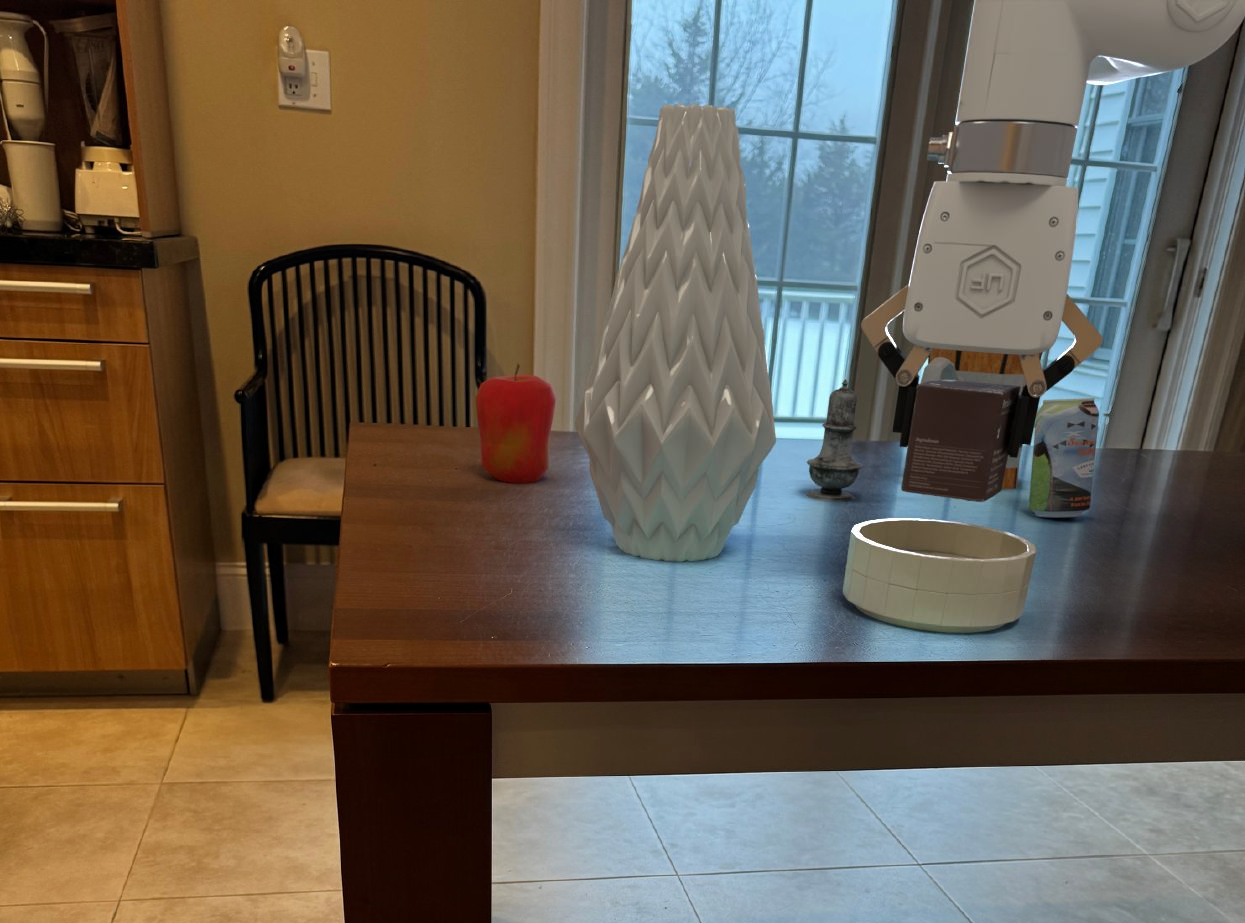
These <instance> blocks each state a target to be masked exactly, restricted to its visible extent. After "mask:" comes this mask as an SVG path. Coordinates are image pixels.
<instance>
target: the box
mask: <svg viewBox="0 0 1245 923" xmlns="http://www.w3.org/2000/svg"><path fill="white" fill-rule="evenodd" d="M1020 388H1021V387H1020V386H1013V385H1003V384H991V383H980V382H970V381H960V380H937V381H927V382H925V383H921V384H920V383H918V386H917V391H916V398H915V403H914V409H913V416H912V422H911V428H910V435H909V441H908V446H907V447H906V455H905V461H904V468H903V475H902V481H901V486H900V487H901V489H900V490H901V491H902V492H905V493H910V494H918V495H922V496H932V497H940V498H946V499H948V498H950V499H955V500H963V501H967V502H975V503H983V502H986V501H988V500H990V499H991V498H993V497H995V496H996V495H998V494H999V493H1001V491H1002V490H1003V489H1002V485H1003V480H1004V474H1005V469H1006V464H1007V459H1008V455H1007V448H1008V443H1009V438H1010V433H1011V428H1012V423H1013V418H1014V412H1015V407H1016V402H1017V397H1018V394H1019V393H1020Z"/></svg>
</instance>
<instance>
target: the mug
mask: <svg viewBox="0 0 1245 923" xmlns="http://www.w3.org/2000/svg"><path fill="white" fill-rule="evenodd" d="M1038 354H1039V358H1040V361H1041V360H1042V357H1043V354H1044V352H1042V353H1038ZM937 380H960V381H970V382H980V383H991V384H1003V385H1013V386H1020V387H1021V388H1020V393H1019V395H1021V392H1022V388H1023V385H1024V384H1025V383H1026V381H1025V378H1024V374H1023V370H1022V367H1021V363H1020V359H1019V356H1018V355H1015V354H1000V353H986V352H972V351H959V350H947V349H935V348H934V349H933V351H932V352H931V354H930V355H929V357H928V358H927V365H925V367H924V368H923V372H922V376H921V379H920V381H919V384H921V383H925V382H927V381H937ZM1023 445H1024V444H1020V447H1019V452H1018V457H1017V458H1013V457H1010V455H1008V459H1007V464H1006V469H1005V474H1004V480H1003V485H1002V490H1012V489H1016V488H1017V486H1018V483H1019V473H1020V472H1019V471H1020V461H1021V460H1020V459H1021V456H1022V450H1023Z"/></svg>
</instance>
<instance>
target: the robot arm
mask: <svg viewBox="0 0 1245 923" xmlns="http://www.w3.org/2000/svg"><path fill="white" fill-rule="evenodd" d="M1244 19H1245V0H974V1H973V7H972V13H971V19H970V20H971V21H970V26H969V33H968V38H967V46H966V52H965V58H964V65H963V72H962V78H961V85H960V89H959V90H960V92H959V97H958V104H957V110H956V117H955V124H954V125H953V131H949V132H948V134H942V135H941V137H936V136H930V138H929V142H928V147H927V157H926V161H932V162H933V161H934V162H935V161H938V162H937V163H938V164H943V167H944V168H947V169H946V172H947V174H946V180H940V181H939V180H937V181H934V182H933V185H932V188H931V191H930V193H929V196H928V199H927V202H926V206H925V209H924V213H923V216H922V220H921V224H920V229H919V232H918V233H919V234H918V236H917V242H916V247H915V251H914V257H913V261H912V266H911V272H910V277H909V282H908V284H906V285H905V286H904V287H903V288H902V289H900V290H899V291H898V292H897V293H895V294H894V295H892V296H891V297H890V298H889V299H887V300H886V301H885V302H883V303H882V304H880V306H879V307H877V308H876V309H875V310H873V311H872V312H871V313H869V314H868V315H867V316H866V317H864V318H863V320H862V321H861V323H860V329H861V331H862V332H863V334H864V335H865V337H866V338H867V340H868V342H869V343H870V345H871V346H872V348H873V349H874V350H875V352H876V354H877V356H878V358H879V359H880V360H881V362H882V363H883V365H884V366H885V368H886V369H887V370H888V372H889V373H890V374H891V375H892V377H893V378H894V380H895V382H896V384H897V385H898V391H897V397H896V404H895V410H894V417H893V424H892V433H897V434H900V439H899V448H908V441H909V435H910V428H911V422H912V416H913V409H914V403H915V398H916V391H917V386H918V384H920V375H919V373H920V372H921V370H922V368H923V366H924V364H925V363H926V362H927V361H928V357H929V355H930V354H931V352H932V351H933V349H934V348H935V349H947V350H959V351H972V352H986V353H1000V354H1015V355H1018V356H1019V359H1020V363H1021V367H1022V370H1023V374H1024V378H1025V381H1026V383H1025V384H1024V385H1023V388H1022V392H1021V395H1019V394H1018V397H1017V402H1016V407H1015V412H1014V418H1013V423H1012V428H1011V433H1010V438H1009V443H1008V448H1007V455H1010V457H1013V458H1017V457H1018V452H1019V447H1020V444H1023V445H1026V446H1027V445H1028V446H1030V445H1031V443H1032V439H1033V433H1034V430H1035V421H1036V414H1037V412H1038V410H1039V405H1040V399H1041V397H1043V396H1044V395H1045V394H1046V393H1047V392H1048V391H1049V390H1050V389H1052V388H1054V386H1055V385H1057V384H1058V383H1060V382H1061V381H1062V380H1063V379H1064V378H1066V377H1067V376H1069V374H1071V373H1072V372H1073V371H1074V370H1075V369H1076V368H1078V366H1080V365H1081V364H1082V363H1084V361H1085V360H1087V359H1088V358H1089V357H1090V356H1091V355H1092V354H1093V353H1095V352H1096V351H1097V350H1098V349H1100V347H1101V346H1103V342H1104V338H1103V335H1102V334H1101V333H1100V332H1099V331H1098V330H1097V328H1096V326H1095V325H1094V324H1093V323H1092V322H1091V321H1090V319H1089V318H1088V317H1087V316H1086V314H1085V313H1084V312H1083V311H1082V310H1081V309H1080V307H1079V306H1078V305H1077V303H1075V301H1074V300H1073V299H1072V297H1071V296H1070V295H1069V294H1068V290H1069V284H1070V283H1069V282H1070V276H1071V269H1072V263H1073V257H1074V250H1075V242H1076V233H1077V223H1078V210H1079V209H1078V208H1079V188H1078V187H1075V186H1068V185H1067V184H1068V180H1069V179H1068V178H1069V174H1070V168H1071V164H1072V159H1073V154H1074V148H1075V143H1076V138H1077V135H1078V134H1077V133H1078V127H1079V125H1080V124H1079V123H1080V118H1081V115H1082V109H1083V104H1084V100H1085V94H1086V88H1087V84H1090V85H1095V86H1096V85H1098V86H1107V85H1113V84H1117V83H1121V82H1125V81H1130V80H1134V79H1139V78H1142V77H1143V78H1144V77H1150V76H1151V77H1152V76H1157V75H1160V74H1164V73H1169V72H1173V71H1177V70H1181V69H1183V68H1187V67H1189V66H1192V65H1195V64H1196V63H1199V62H1200V61H1202V60H1204V59H1205V58H1207V57H1209V56H1210V55H1212V54H1213V53H1214V52H1216V51H1217V50H1219V49H1220V48H1221V47H1222V46H1223V45H1224V44H1225V43H1226V42H1227V41H1228V40H1230V38H1231V37H1232V36H1233V35H1234V34H1235V33H1236V32H1237V31H1238V28H1239V27H1240V26H1241V24H1242V23H1243V21H1244ZM902 313H903V322H902V332H903V336H904V338H905V339H906V340H907V341H908V342H909V343H911V344H913V347H912V349H911V350H910V351H909V354H908V355H907V357H906V356H905V355H904V353H903V352H902V350H901V349H900V348H899V346H898V345H897V344H896V342H894V339H893V338H892V337H891V334H889V331H888V326H889V324H890V322H892V321H893V320H894V319H895V318H897V317H898V316H899V315H901V314H902ZM1062 323H1063V324H1064V325H1065V326H1066V327H1067V329H1068V330H1069V331H1070V333H1071V334H1073V337H1074V341H1073V343H1072V345H1071V346H1069V347H1068V349H1066V351H1064V352H1063V353H1062V354H1061V355H1059V356H1058V357H1056V358H1055V359H1054V360H1053V361H1052V362H1050V363H1049V364H1047V366H1045V367H1043V365H1042V362H1041V360H1040V358H1039V354H1038V353H1042V352H1043V353H1044V352H1047V351H1049V350H1050V349H1051V348H1052V347H1053V346H1054V345H1055V344H1056V342H1057V340H1058V337H1059V333H1060V329H1061V325H1062Z"/></svg>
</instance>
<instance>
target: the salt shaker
mask: <svg viewBox="0 0 1245 923" xmlns="http://www.w3.org/2000/svg"><path fill="white" fill-rule="evenodd" d="M841 385H842V386H841V387H839V388H838V389H835V390H833V391H831V393H830V394H829V397H828V405H827V413H826V421H825V422H824V423H822V427H823V428H824V431H823V432H824V433H823V438H822V446H821V448H820V451H819V454H818V455H817V456H815V457H814V458H810V459H808V460H807V461H806V463H807V465H808V466H809V468H808V472H809V477H810V480H811V481H812V482H813V483H814V484H815V485H816V486H818V487H820V488H815V489H811V490H810V491H808V492H806V494H805V496H806V497H808V498H810V499H814V500H820V501H827V502H852V501H854V500H856V497H855V496H854V495H853V494H851V492H849V491H846V490H843V489H846V488H849V487H850V486H852V485H853V484H854V483H855V481H856V479H857V478H858V476H859V471H860V469H862V468H863V464H862V463H860V462H858V461H856V460H855V458H854V457H853V452H852V444H853V437H854V431H855V430H857V428H858V427H857V426H856V425H855V424H854V423H855V417H856V409H857V401H858V397H857V394H856V393H855V392H854V391H853V390H851V389H850V388H849V387H848V385H849V383H848V380H847V379H846V378H845V379H844V380H842V382H841Z"/></svg>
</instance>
